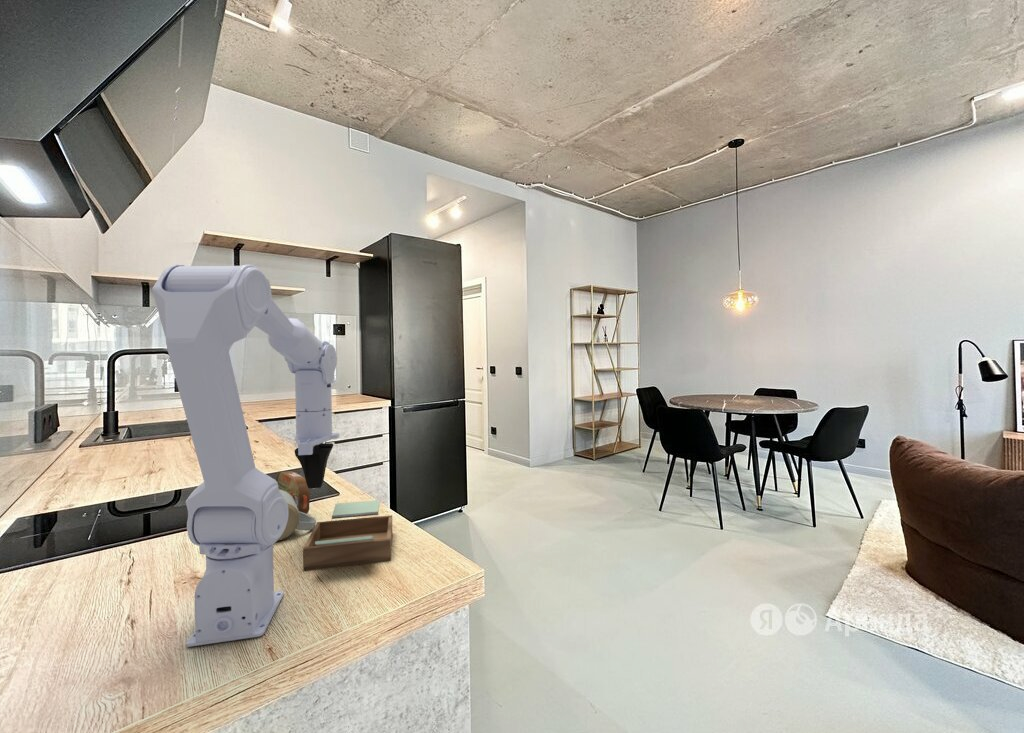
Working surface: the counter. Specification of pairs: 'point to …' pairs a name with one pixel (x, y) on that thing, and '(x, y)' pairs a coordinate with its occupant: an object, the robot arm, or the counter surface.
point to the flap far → (356, 509)
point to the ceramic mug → (295, 518)
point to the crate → (349, 543)
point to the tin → (295, 489)
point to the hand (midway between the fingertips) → (315, 487)
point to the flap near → (344, 540)
